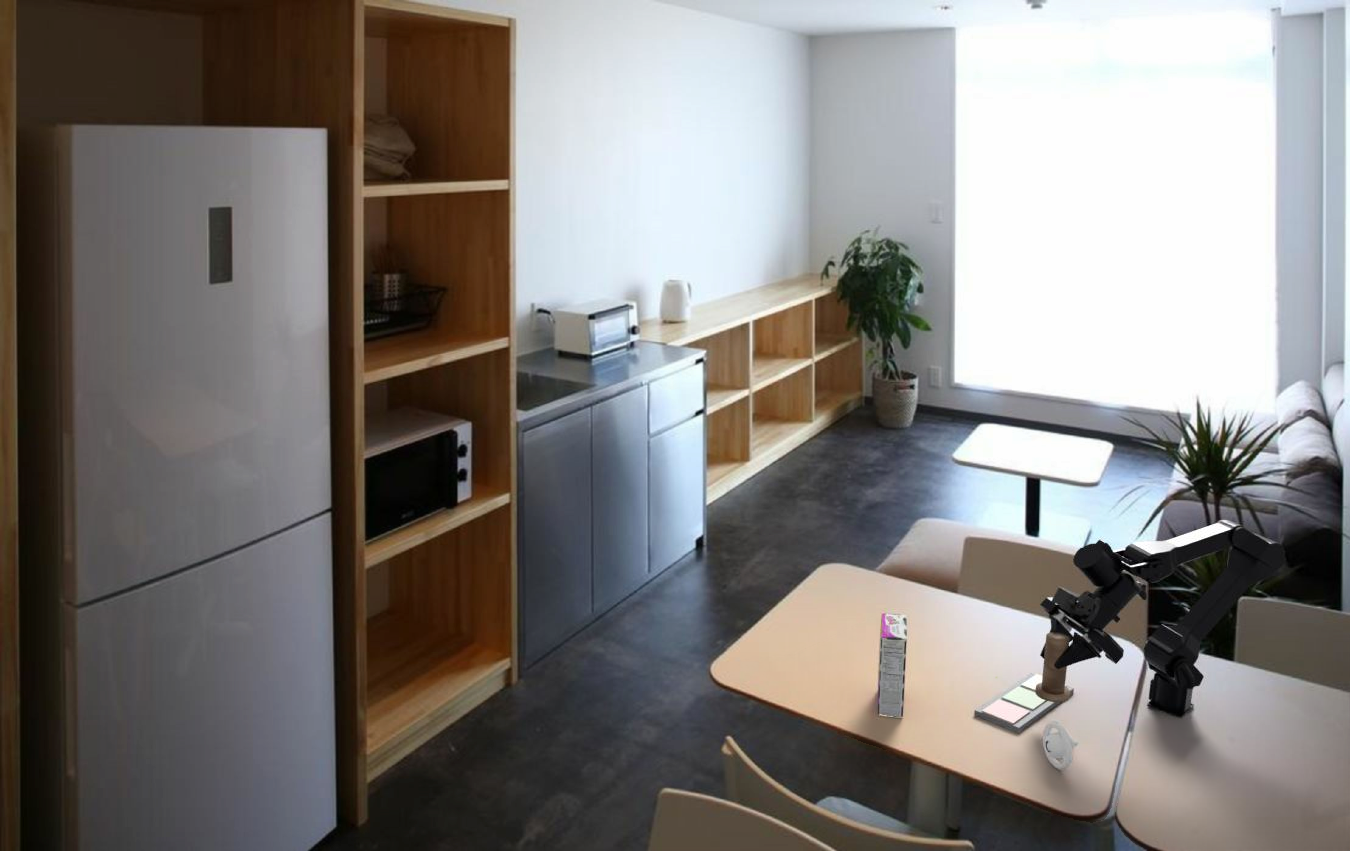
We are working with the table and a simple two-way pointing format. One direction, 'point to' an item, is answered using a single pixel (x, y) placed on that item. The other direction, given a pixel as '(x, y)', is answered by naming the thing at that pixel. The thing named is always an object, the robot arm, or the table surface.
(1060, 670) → the brown wooden peg
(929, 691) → the table surface
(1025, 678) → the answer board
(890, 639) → the candy bar box
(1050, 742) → the ring around a ball
